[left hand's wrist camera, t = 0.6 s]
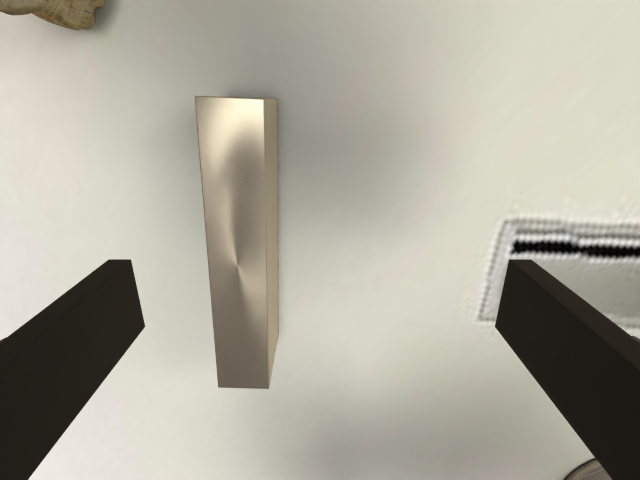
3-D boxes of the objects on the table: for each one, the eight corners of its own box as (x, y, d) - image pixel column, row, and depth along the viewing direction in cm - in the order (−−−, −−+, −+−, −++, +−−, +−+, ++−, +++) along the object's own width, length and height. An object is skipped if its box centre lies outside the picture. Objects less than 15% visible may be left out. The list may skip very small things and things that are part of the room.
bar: (225, 97, 32) (194, 95, 24) (277, 99, 32) (264, 98, 24) (237, 331, 41) (218, 387, 33) (278, 333, 41) (268, 389, 33)
